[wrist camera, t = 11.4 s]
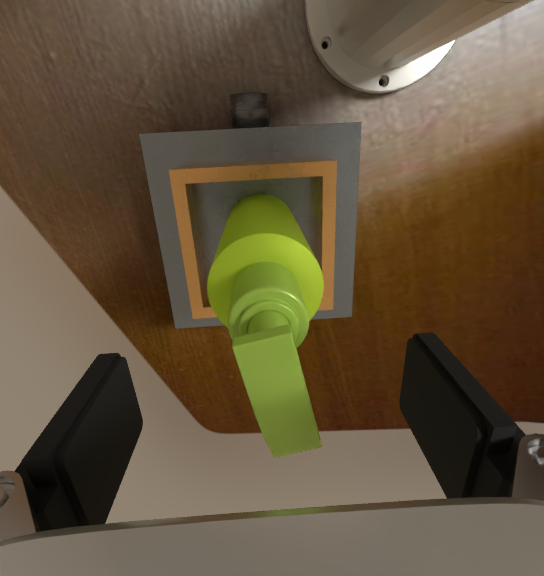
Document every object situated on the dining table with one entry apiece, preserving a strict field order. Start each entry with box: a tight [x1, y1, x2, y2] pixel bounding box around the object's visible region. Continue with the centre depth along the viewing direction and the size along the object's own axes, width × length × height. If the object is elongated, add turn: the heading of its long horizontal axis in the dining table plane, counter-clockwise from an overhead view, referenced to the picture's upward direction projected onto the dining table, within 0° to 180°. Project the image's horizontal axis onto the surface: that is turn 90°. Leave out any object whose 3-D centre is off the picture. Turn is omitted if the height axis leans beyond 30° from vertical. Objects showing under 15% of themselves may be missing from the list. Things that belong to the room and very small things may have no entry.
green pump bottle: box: [207, 194, 324, 457], centre depth 20 cm, size 6×7×20 cm
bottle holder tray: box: [139, 93, 361, 328], centre depth 29 cm, size 19×17×7 cm
